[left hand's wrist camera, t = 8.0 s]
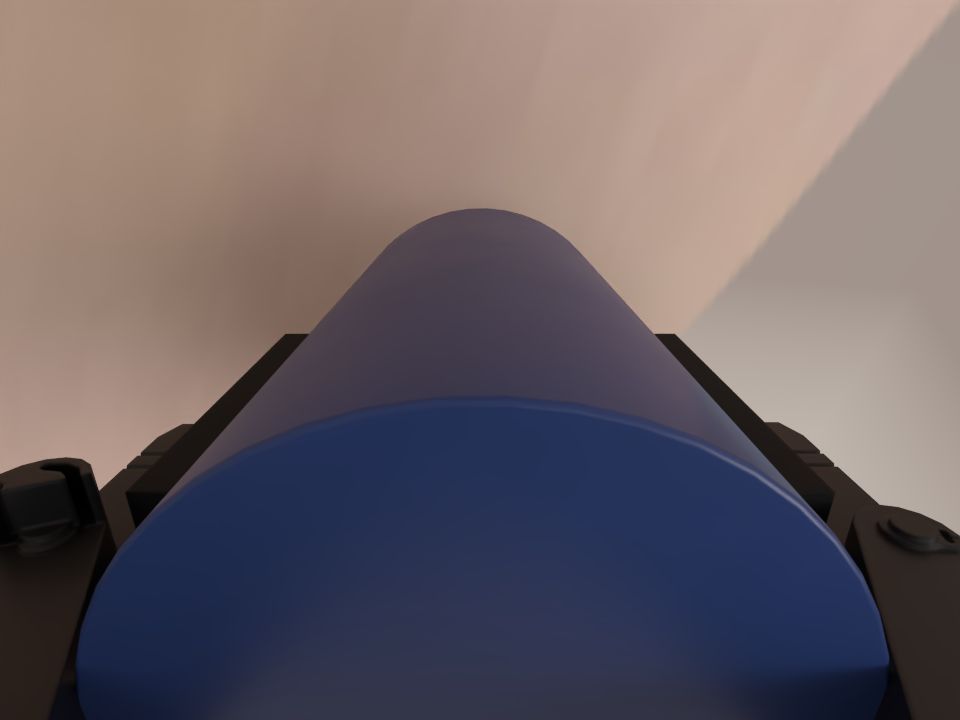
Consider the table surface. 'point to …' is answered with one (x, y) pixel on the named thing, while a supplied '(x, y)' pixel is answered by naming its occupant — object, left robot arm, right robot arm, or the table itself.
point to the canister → (482, 524)
